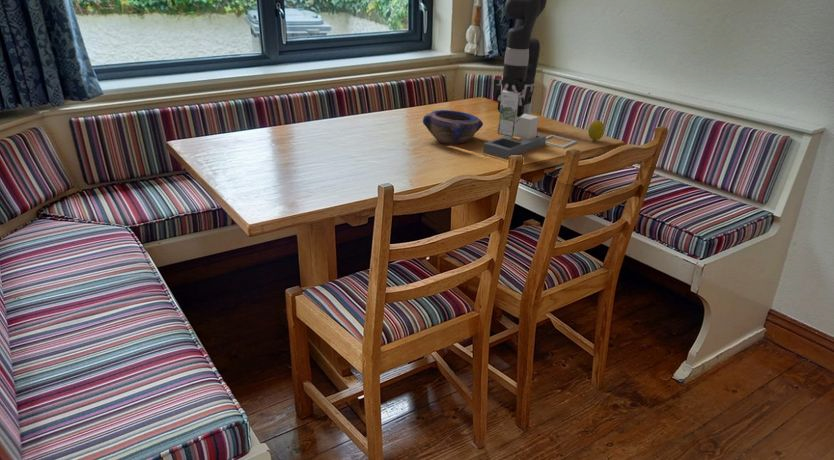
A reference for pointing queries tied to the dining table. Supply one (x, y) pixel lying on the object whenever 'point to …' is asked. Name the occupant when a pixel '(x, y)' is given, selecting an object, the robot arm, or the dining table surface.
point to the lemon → (596, 130)
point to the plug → (527, 127)
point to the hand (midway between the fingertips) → (510, 114)
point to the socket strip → (512, 146)
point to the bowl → (452, 126)
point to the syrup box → (509, 114)
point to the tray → (562, 139)
